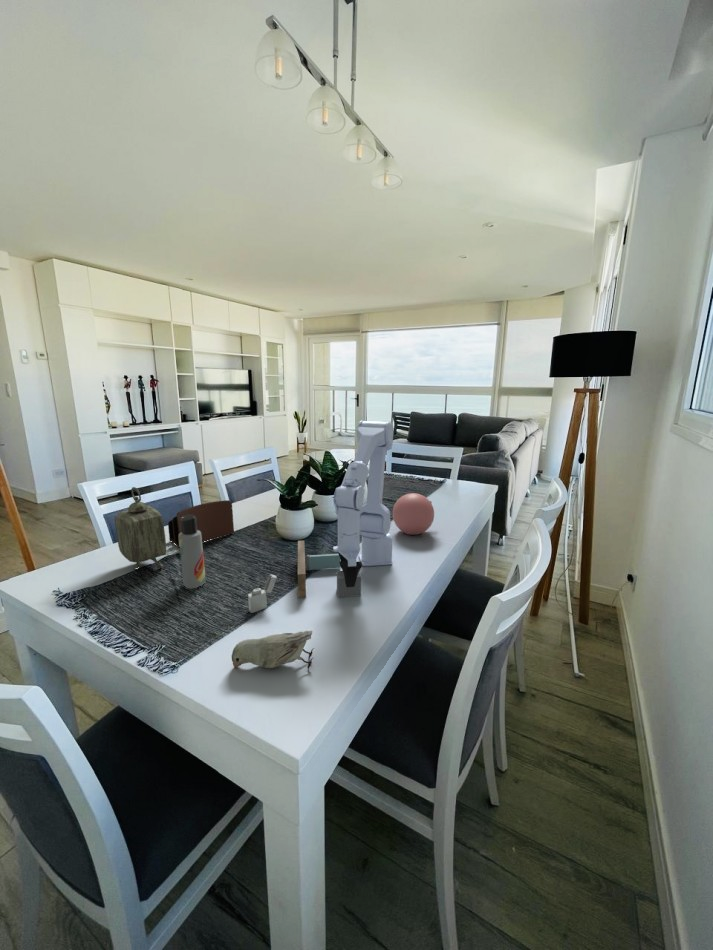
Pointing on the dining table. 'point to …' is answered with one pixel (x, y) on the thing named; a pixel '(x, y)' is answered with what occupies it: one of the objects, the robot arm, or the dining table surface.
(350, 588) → the block
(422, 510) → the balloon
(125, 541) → the tabletop clock
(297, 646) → the decorative bird
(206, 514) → the letter holder
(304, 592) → the wooden plank
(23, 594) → the dining table surface
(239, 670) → the dining table surface
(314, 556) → the door
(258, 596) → the lighter
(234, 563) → the dining table surface
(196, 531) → the lotion bottle
